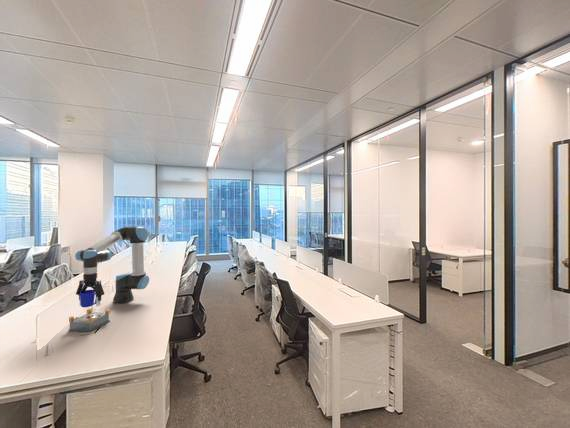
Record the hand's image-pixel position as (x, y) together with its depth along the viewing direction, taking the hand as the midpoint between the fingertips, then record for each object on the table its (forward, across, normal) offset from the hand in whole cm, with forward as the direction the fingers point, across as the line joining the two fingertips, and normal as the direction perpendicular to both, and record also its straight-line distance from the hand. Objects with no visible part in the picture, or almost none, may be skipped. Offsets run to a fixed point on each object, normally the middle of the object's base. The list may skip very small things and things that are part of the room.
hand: (90, 305), depth 174 cm
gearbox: (+14, 0, 0) cm, 14 cm away
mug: (+1, 0, 0) cm, 1 cm away
